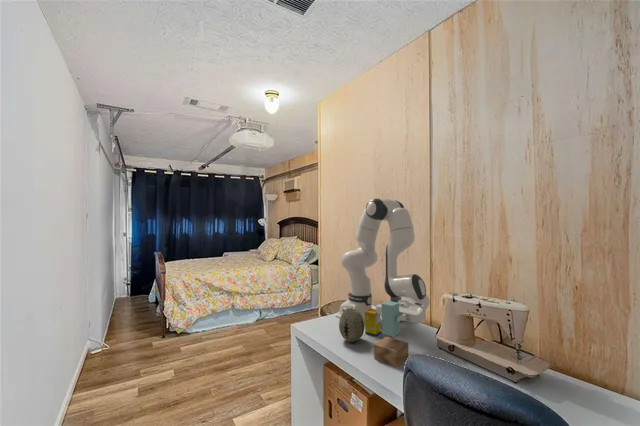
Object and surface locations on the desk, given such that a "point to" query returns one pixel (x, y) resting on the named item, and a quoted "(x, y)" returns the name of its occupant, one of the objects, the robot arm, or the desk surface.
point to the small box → (395, 299)
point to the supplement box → (372, 322)
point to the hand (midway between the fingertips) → (389, 317)
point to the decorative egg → (351, 325)
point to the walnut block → (391, 351)
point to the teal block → (390, 318)
